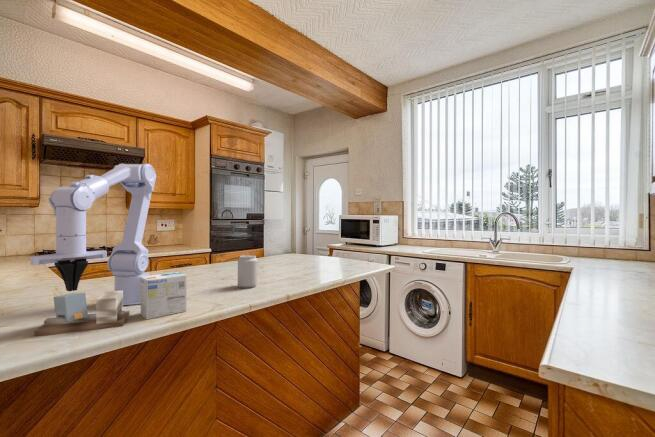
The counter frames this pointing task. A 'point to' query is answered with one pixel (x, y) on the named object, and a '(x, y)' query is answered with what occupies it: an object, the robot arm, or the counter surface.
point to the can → (247, 271)
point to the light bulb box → (162, 294)
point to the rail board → (91, 317)
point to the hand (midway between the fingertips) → (71, 290)
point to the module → (71, 306)
